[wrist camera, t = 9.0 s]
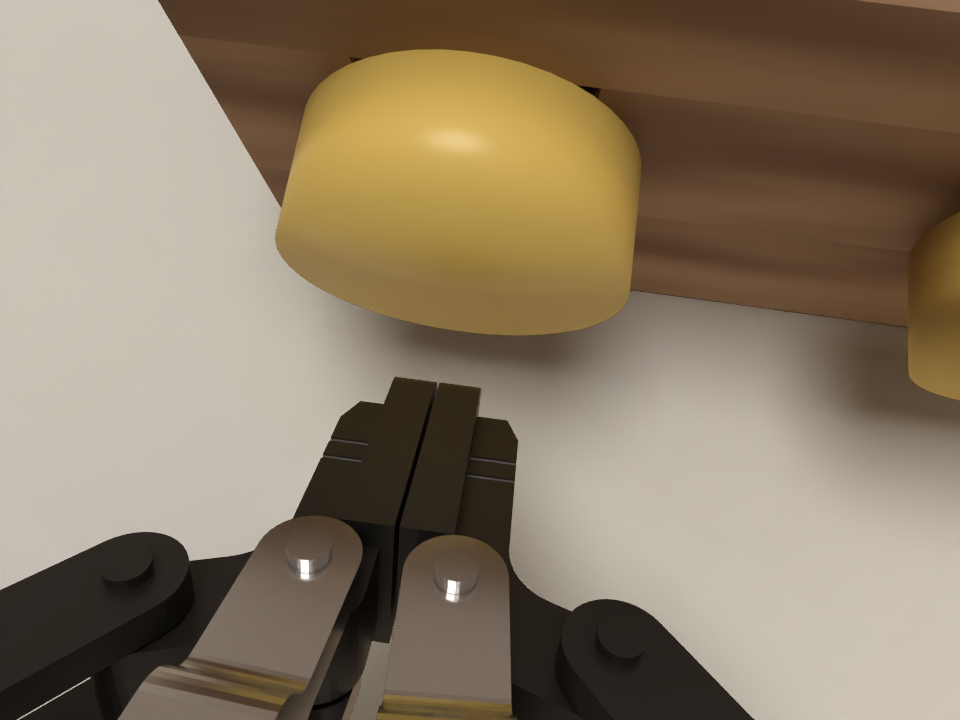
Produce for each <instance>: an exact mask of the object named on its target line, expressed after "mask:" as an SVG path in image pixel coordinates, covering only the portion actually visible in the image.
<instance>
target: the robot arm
mask: <svg viewBox="0 0 960 720" xmlns="http://www.w3.org/2000/svg"><path fill="white" fill-rule="evenodd" d="M480 395H481V388H477V387H469V386H462V385H454V384H447V383H439V386H438V389H437V382H430V381H423V380H415V379H408V378H400V377H395V378H394V380H393V382H392V384H391V387H390V390H389V392H388V395H387V397H386V400H385V403H384V404H378V403H371V402H363V401H360V402H359V403H358V404H356V405H355V406H354V407H352V408H351V409H350V410H349V411H347V412H346V413H345V414H344V415H342V416H341V417H340V419H339V421H338V423H337V425H336V427H335V430H334V432H333V434H332V436H331V441H329V442H328V444H327V447H326V449H325V451H324V453H323V458H321V459H320V461H319V464H318V466H317V468H316V470H315V472H314V474H313V476H312V479H311V481H310V483H309V485H308V487H307V489H306V491H305V493H304V496H303V498H302V500H301V502H300V504H299V506H298V508H297V510H296V513H295V515H294V517H293V519H291V520H288V521H285V522H283V523H281V524H279V525H277V526H276V527H274V528H273V529H271V530H270V531H269V532H268V533H267V534H266V535H265V536H264V537H263V538H262V539H261V541H260V542H259V544H258V545H257V547H256V548H255V550H253V551H251V552H248V553H244V554H240V555H235V556H229V557H220V558H212V559H203V560H194V561H189V557H188V554H187V551H186V550H185V548H184V547H183V545H182V544H181V543H179V542H178V541H177V540H175V539H174V538H172V537H170V536H167V535H164V534H160V533H154V532H139V533H131V534H125V535H122V536H118V537H115V538H112V539H110V540H107V541H105V542H103V543H101V544H98V545H96V546H94V547H92V548H90V549H88V550H86V551H83V552H81V553H79V554H77V555H75V556H73V557H71V558H68V559H66V560H64V561H62V562H60V563H58V564H56V565H53V566H51V567H49V568H47V569H45V570H43V571H40V572H38V573H36V574H34V575H32V576H30V577H28V578H25V579H23V580H21V581H19V582H17V583H15V584H13V585H10V586H8V587H6V588H4V589H2V590H0V720H17V719H18V718H20V717H22V716H23V715H25V714H27V713H29V712H30V711H32V710H34V709H35V708H37V707H39V706H41V705H42V704H44V703H46V702H48V701H49V700H51V699H53V698H54V697H56V696H58V695H60V694H61V693H63V692H65V691H66V690H68V689H70V688H72V687H73V686H75V685H77V684H79V683H80V682H82V681H84V680H85V679H87V678H89V677H90V679H89V680H87V681H85V682H83V683H82V684H80V685H78V686H77V687H75V688H73V689H71V690H70V691H68V692H66V693H65V694H63V695H61V696H59V697H58V698H56V699H54V700H53V701H51V702H49V703H47V704H46V705H44V706H42V707H41V708H39V709H37V710H35V711H34V712H32V713H30V714H28V715H27V716H25V717H23V718H22V719H20V720H350V718H351V715H352V712H353V709H354V706H355V703H356V701H357V698H358V695H359V691H360V687H361V676H362V673H363V671H364V668H365V664H366V661H367V657H368V653H369V650H370V646H371V642H372V641H376V642H383V643H389V642H390V638H391V634H392V630H393V626H394V631H393V638H392V644H391V651H390V658H389V664H388V671H387V677H386V684H385V691H384V697H383V702H382V705H380V706H379V709H378V713H377V718H376V720H754V719H753V718H752V717H751V716H750V715H749V714H748V713H747V712H746V711H745V710H744V709H743V708H742V707H741V706H740V705H739V704H738V703H737V702H736V701H735V700H734V699H733V698H732V697H731V696H730V694H729V693H728V692H727V691H726V690H725V689H724V688H723V687H722V686H721V685H720V684H719V683H718V682H717V681H716V680H715V679H714V678H713V677H712V676H711V675H710V674H709V673H708V672H707V671H706V670H705V669H704V668H703V667H702V666H701V665H700V664H699V663H698V662H697V660H696V659H695V658H694V657H693V656H692V655H691V654H690V653H689V652H688V651H687V650H686V649H685V648H684V647H683V646H682V645H681V644H680V643H679V642H678V641H677V640H676V639H675V638H674V637H673V636H672V635H671V634H670V633H669V632H668V631H667V630H666V629H665V628H664V627H663V625H662V624H661V623H660V622H658V621H657V620H656V619H655V618H654V617H653V616H652V615H650V614H649V613H647V612H646V611H644V610H642V609H641V608H639V607H637V606H635V605H632V604H629V603H627V602H623V601H618V600H610V599H600V600H594V601H589V602H587V603H584V604H582V605H580V606H579V607H577V608H575V609H574V610H573V611H572V612H571V611H569V610H567V609H564V608H562V607H560V606H558V605H555V604H553V603H551V602H549V601H547V600H545V599H543V598H541V597H539V596H538V595H536V594H535V593H533V592H532V591H530V590H529V589H528V588H527V587H526V586H525V585H524V584H523V583H522V582H521V581H520V579H519V578H518V577H517V575H516V574H515V572H514V570H513V568H512V565H511V562H510V558H509V544H510V532H511V519H512V507H513V495H514V482H515V471H516V459H517V446H518V440H517V438H516V436H515V434H514V432H513V430H512V429H511V427H510V425H509V423H508V421H506V420H499V419H491V418H484V417H478V413H479V404H480ZM394 622H395V625H394Z"/></svg>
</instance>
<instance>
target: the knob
mask: <svg viewBox="0 0 960 720" xmlns="http://www.w3.org/2000/svg"><path fill="white" fill-rule="evenodd" d="M641 166H642V161H641V156H640V151H639V148H638V146H637V144H636V141H635V139H634V137H633V135H632V134H631V132H630V131H629V129H628V128H627V127H626V125H625V124H624V122H623V121H622V120H621V119H620V118H619V117H618V116H617V115H616V114H615V113H614V112H613V111H612V110H611V109H610V108H609V107H607V106H606V105H605V104H603V103H602V102H601V101H600V100H598V99H597V98H596V97H594V96H593V95H591V94H590V93H588V92H587V91H585V90H583V89H582V88H580V87H578V86H577V85H575V84H573V83H571V82H569V81H567V80H565V79H563V78H561V77H558V76H556V75H554V74H552V73H550V72H547V71H544V70H542V69H539V68H536V67H533V66H530V65H528V64H525V63H521V62H517V61H513V60H510V59H506V58H502V57H498V56H493V55H487V54H481V53H475V52H468V51H456V50H444V49H429V50H408V51H399V52H390V53H385V54H381V55H377V56H372V57H368V58H365V59H362V60H359V61H357V62H354V63H351V64H349V65H347V66H345V67H343V68H341V69H339V70H337V71H336V72H334V73H332V74H331V75H330V76H328V77H327V78H326V79H325V80H323V81H322V82H321V83H320V84H319V85H318V86H317V88H316V89H315V90H314V91H313V93H312V94H311V95H310V98H309V100H308V102H307V104H306V106H305V110H304V115H303V119H302V123H301V127H300V132H299V136H298V140H297V144H296V149H295V153H294V157H293V161H292V166H291V170H290V174H289V178H288V183H287V187H286V191H285V195H284V200H283V204H282V208H281V212H280V217H279V221H278V225H277V229H276V236H275V241H276V246H277V249H278V251H279V253H280V255H281V256H282V258H283V259H284V260H285V261H286V263H287V264H288V265H289V266H290V267H291V268H292V269H293V270H294V271H296V272H297V273H298V274H299V275H300V276H302V277H303V278H305V279H306V280H307V281H309V282H310V283H312V284H314V285H315V286H317V287H319V288H320V289H322V290H324V291H326V292H328V293H330V294H332V295H334V296H336V297H338V298H340V299H342V300H345V301H347V302H349V303H352V304H354V305H357V306H360V307H362V308H365V309H368V310H371V311H374V312H377V313H380V314H383V315H386V316H390V317H393V318H397V319H401V320H404V321H409V322H413V323H417V324H421V325H426V326H431V327H437V328H442V329H449V330H455V331H462V332H471V333H481V334H493V335H543V334H553V333H562V332H568V331H574V330H578V329H582V328H586V327H590V326H593V325H596V324H599V323H601V322H603V321H605V320H607V319H609V318H611V317H613V316H614V315H616V314H617V313H618V312H620V311H621V310H622V308H623V307H624V306H625V305H626V303H627V301H628V298H629V296H630V285H631V275H632V264H633V254H634V243H635V233H636V223H637V212H638V202H639V191H640V181H641Z"/></svg>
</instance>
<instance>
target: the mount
mask: <svg viewBox="0 0 960 720" xmlns="http://www.w3.org/2000/svg"><path fill="white" fill-rule="evenodd" d="M158 1H159V3H160V4H161V6H162V8H163V9H164V11H165V13H166V14H167V16H168V18H169V19H170V21H171V23H172V24H173V26H174V28H175V30H176V31H177V33H178V35H179V36H180V38H181V40H182V41H183V43H184V45H185V46H186V48H187V50H188V51H189V53H190V55H191V57H192V58H193V60H194V62H195V63H196V65H197V67H198V68H199V70H200V72H201V73H202V75H203V77H204V78H205V80H206V82H207V84H208V85H209V87H210V89H211V90H212V92H213V94H214V95H215V97H216V99H217V100H218V102H219V104H220V105H221V107H222V109H223V111H224V112H225V114H226V116H227V117H228V119H229V121H230V122H231V124H232V126H233V127H234V129H235V131H236V132H237V134H238V136H239V138H240V139H241V141H242V143H243V144H244V146H245V148H246V149H247V151H248V153H249V154H250V156H251V158H252V159H253V161H254V163H255V165H256V166H257V168H258V170H259V171H260V173H261V175H262V176H263V178H264V180H265V181H266V183H267V185H268V186H269V188H270V190H271V192H272V193H273V195H274V197H275V198H276V200H277V202H278V203H279V205H280V207H281V208H282V204H283V200H284V195H285V191H286V187H287V183H288V178H289V174H290V170H291V166H292V161H293V157H294V153H295V149H296V144H297V140H298V136H299V132H300V127H301V123H302V119H303V115H304V110H305V106H306V104H307V102H308V100H309V98H310V95H311V94H312V93H313V91H314V90H315V89H316V88H317V86H318V85H319V84H320V83H321V82H322V81H323V80H325V79H326V78H327V77H328V76H330V75H331V74H332V73H334V72H336V71H337V70H339V69H341V68H343V67H345V66H347V65H349V64H351V63H354V62H357V61H359V60H362V59H365V58H368V57H372V56H377V55H381V54H385V53H390V52H399V51H408V50H429V49H444V50H456V51H468V52H475V53H481V54H487V55H493V56H498V57H502V58H506V59H510V60H513V61H517V62H521V63H525V64H528V65H530V66H533V67H536V68H539V69H542V70H544V71H547V72H550V73H552V74H554V75H556V76H558V77H561V78H563V79H565V80H567V81H569V82H571V83H573V84H575V85H577V86H578V87H580V88H582V89H583V90H585V91H587V92H588V93H590V94H591V95H593V96H594V97H596V98H597V99H598V100H600V101H601V102H602V103H603V104H605V105H606V106H607V107H609V108H610V109H611V110H612V111H613V112H614V113H615V114H616V115H617V116H618V117H619V118H620V119H621V120H622V121H623V122H624V124H625V125H626V127H627V128H628V129H629V131H630V132H631V134H632V135H633V137H634V139H635V141H636V144H637V146H638V148H639V151H640V156H641V161H642V166H641V181H640V191H639V202H638V212H637V223H636V233H635V243H634V254H633V264H632V275H631V285H630V290H637V291H644V292H651V293H659V294H666V295H673V296H681V297H688V298H696V299H703V300H710V301H718V302H725V303H732V304H740V305H747V306H755V307H762V308H769V309H777V310H784V311H791V312H799V313H806V314H814V315H821V316H828V317H836V318H843V319H850V320H858V321H865V322H873V323H880V324H887V325H895V326H902V327H908V373H909V377H910V378H911V380H912V381H913V382H914V383H915V384H917V385H918V386H920V387H921V388H923V389H925V390H927V391H929V392H932V393H935V394H938V395H941V396H944V397H948V398H951V399H955V400H960V0H158Z"/></svg>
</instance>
